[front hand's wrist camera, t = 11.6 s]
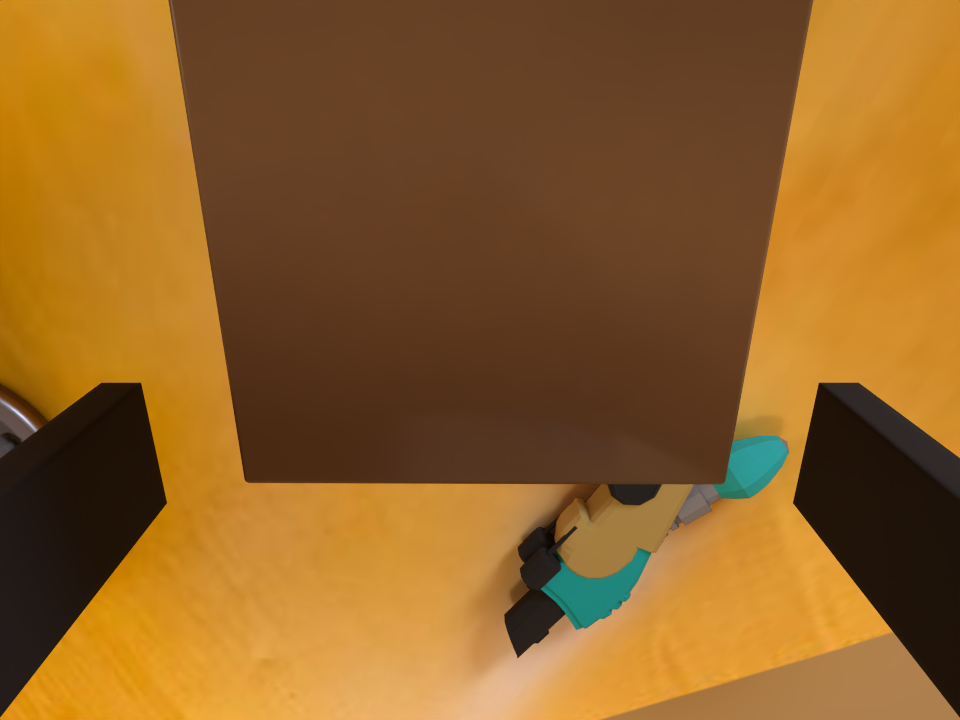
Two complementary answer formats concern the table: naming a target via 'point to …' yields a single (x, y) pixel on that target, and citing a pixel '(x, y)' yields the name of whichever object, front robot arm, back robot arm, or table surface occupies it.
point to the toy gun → (619, 541)
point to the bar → (488, 229)
